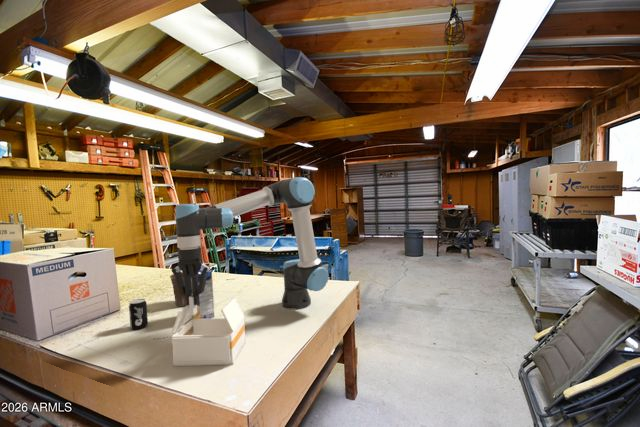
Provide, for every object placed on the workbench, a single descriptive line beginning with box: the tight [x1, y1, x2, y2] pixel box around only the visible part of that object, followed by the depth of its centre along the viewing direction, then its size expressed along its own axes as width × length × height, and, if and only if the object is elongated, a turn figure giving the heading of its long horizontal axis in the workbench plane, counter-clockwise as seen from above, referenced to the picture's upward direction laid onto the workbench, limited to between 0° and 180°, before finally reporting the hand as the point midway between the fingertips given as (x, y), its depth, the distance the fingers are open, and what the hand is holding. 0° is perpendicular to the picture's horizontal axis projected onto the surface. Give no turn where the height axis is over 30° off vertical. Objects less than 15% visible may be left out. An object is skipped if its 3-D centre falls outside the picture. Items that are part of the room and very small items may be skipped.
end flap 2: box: [221, 296, 245, 332], centre depth 99 cm, size 1×12×8 cm, turn 179°
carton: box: [171, 316, 246, 367], centre depth 100 cm, size 20×16×10 cm
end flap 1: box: [171, 305, 193, 334], centre depth 99 cm, size 1×12×8 cm, turn 177°
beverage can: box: [128, 298, 149, 331], centre depth 125 cm, size 7×7×12 cm
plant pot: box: [169, 271, 187, 307], centre depth 154 cm, size 16×16×16 cm
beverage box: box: [191, 269, 215, 319], centre depth 134 cm, size 7×11×22 cm, turn 48°
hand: (193, 313), depth 99 cm, fingers closed
